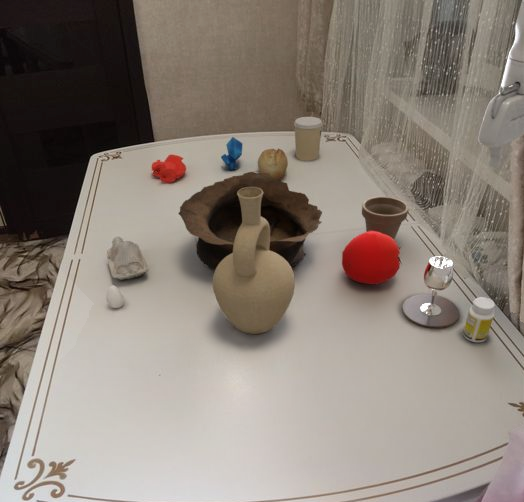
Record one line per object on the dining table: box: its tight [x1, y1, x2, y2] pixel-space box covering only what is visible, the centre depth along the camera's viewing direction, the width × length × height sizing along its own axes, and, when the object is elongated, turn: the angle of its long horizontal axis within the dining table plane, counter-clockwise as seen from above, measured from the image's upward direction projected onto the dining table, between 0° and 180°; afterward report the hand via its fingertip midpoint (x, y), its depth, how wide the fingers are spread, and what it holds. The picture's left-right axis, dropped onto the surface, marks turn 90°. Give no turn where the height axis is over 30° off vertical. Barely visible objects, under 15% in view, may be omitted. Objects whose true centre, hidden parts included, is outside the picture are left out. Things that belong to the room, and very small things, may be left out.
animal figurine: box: [150, 153, 187, 183], centre depth 178 cm, size 12×15×5 cm
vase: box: [212, 187, 296, 335], centre depth 108 cm, size 17×17×30 cm
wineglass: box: [420, 255, 454, 316], centre depth 115 cm, size 6×6×12 cm
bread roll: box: [257, 148, 289, 181], centre depth 175 cm, size 10×15×8 cm, turn 3°
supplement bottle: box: [462, 296, 496, 343], centre depth 110 cm, size 5×5×8 cm
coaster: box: [401, 293, 460, 330], centre depth 119 cm, size 12×12×1 cm
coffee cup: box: [293, 116, 323, 162], centre depth 185 cm, size 9×9×12 cm
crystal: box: [220, 136, 243, 171], centre depth 181 cm, size 7×9×12 cm
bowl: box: [178, 171, 323, 271], centre depth 136 cm, size 34×33×15 cm
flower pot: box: [361, 196, 410, 240], centre depth 140 cm, size 12×11×10 cm
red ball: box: [341, 231, 403, 285], centre depth 126 cm, size 13×13×13 cm
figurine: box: [106, 236, 149, 281], centre depth 132 cm, size 15×11×8 cm
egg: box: [105, 284, 126, 309], centre depth 122 cm, size 4×4×6 cm
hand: (509, 159), depth 100 cm, fingers open, 8 cm apart
